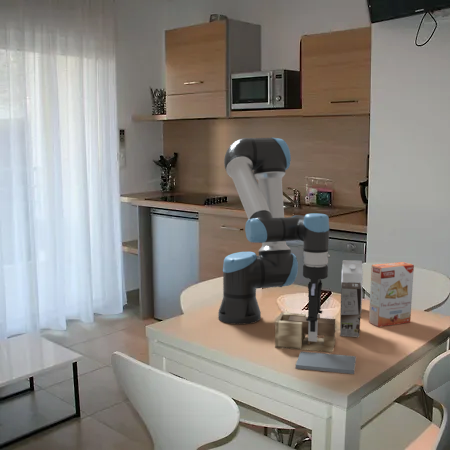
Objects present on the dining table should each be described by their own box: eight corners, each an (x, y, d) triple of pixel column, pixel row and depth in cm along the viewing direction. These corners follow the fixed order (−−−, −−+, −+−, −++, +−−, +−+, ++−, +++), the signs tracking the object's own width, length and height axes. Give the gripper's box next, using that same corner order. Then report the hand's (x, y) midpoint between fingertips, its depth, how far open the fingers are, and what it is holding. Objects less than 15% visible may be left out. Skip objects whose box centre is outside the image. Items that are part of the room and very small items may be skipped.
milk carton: (340, 307, 225) (342, 258, 222) (359, 308, 224) (361, 259, 221) (341, 312, 218) (343, 262, 215) (361, 313, 217) (363, 262, 214)
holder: (274, 347, 182) (275, 322, 180) (280, 336, 192) (280, 312, 191) (332, 352, 177) (333, 326, 176) (335, 340, 187) (335, 316, 186)
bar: (287, 332, 183) (288, 320, 182) (290, 327, 188) (290, 315, 187) (333, 336, 179) (334, 323, 179) (334, 331, 184) (335, 319, 183)
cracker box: (379, 328, 200) (381, 267, 197) (368, 323, 206) (370, 264, 203) (411, 323, 206) (414, 264, 203) (400, 318, 211) (402, 260, 208)
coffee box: (360, 337, 191) (361, 288, 188) (339, 336, 192) (341, 287, 189) (359, 328, 199) (361, 282, 197) (340, 327, 201) (341, 281, 198)
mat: (295, 368, 165) (295, 364, 165) (300, 354, 175) (300, 351, 175) (354, 374, 161) (354, 370, 161) (355, 359, 171) (355, 356, 171)
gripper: (325, 271, 170) (323, 348, 173) (330, 259, 188) (328, 329, 192) (299, 270, 172) (297, 346, 175) (307, 257, 190) (305, 327, 194)
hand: (313, 337), depth 183 cm, fingers open, 6 cm apart
